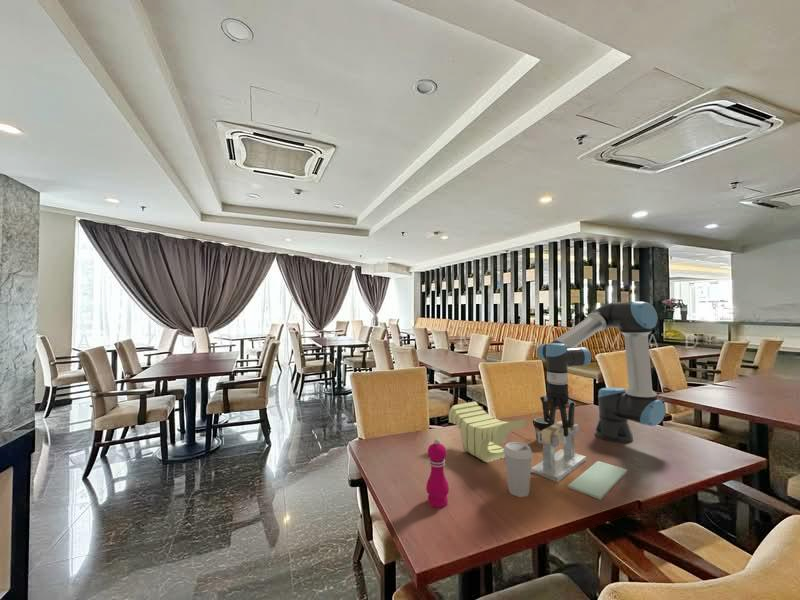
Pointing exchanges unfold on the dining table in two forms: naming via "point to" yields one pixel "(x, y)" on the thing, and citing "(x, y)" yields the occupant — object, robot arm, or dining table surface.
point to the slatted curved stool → (481, 430)
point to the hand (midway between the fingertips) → (558, 442)
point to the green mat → (598, 479)
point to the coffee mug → (539, 425)
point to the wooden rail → (553, 432)
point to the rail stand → (558, 457)
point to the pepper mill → (437, 476)
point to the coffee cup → (518, 468)
